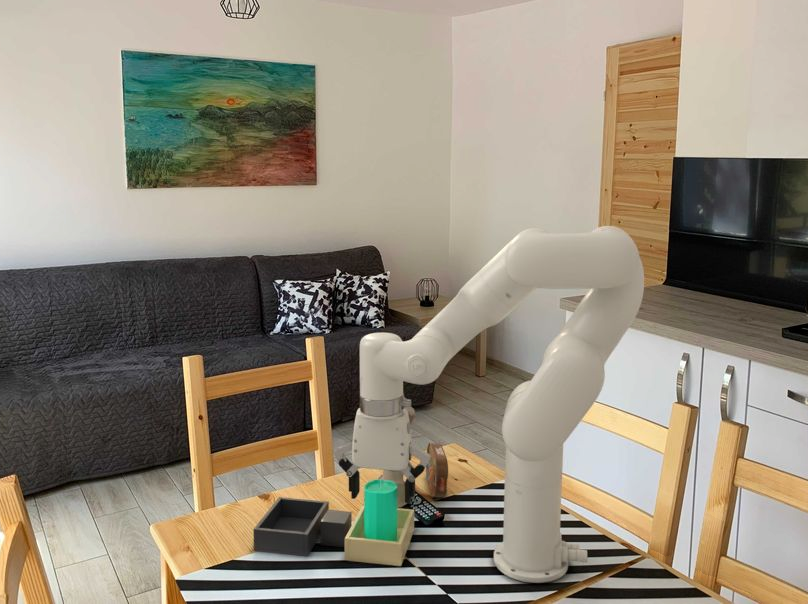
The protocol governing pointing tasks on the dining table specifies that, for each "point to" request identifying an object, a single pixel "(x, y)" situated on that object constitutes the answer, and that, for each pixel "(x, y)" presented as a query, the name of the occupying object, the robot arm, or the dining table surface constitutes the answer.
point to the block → (335, 527)
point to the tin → (437, 470)
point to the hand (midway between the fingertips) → (381, 497)
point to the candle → (380, 510)
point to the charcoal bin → (290, 526)
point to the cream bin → (379, 541)
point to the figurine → (398, 472)
